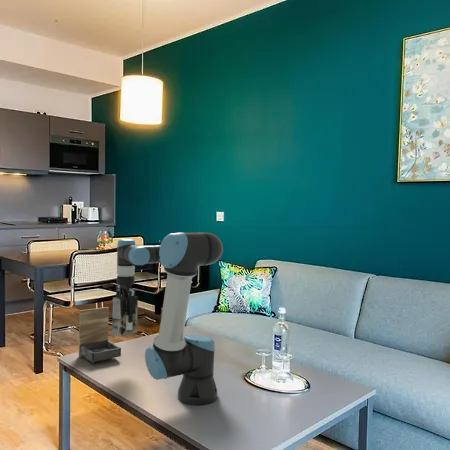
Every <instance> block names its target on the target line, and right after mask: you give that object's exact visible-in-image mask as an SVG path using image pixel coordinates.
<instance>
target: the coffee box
mask: <svg viewBox="0 0 450 450" xmlns="http://www.w3.org/2000/svg"><path fill="white" fill-rule="evenodd" d="M128 299H129V298H127V299H125V298H124V297H116V296H115V297H112V318H111V319H112V323H111V334H112V336H113V335H114V336H116V337H119V338H123V337H126V336H130V335H134V334H137V333H138V309H139V307H138V306H139V305H138V303H139V296H136V295H135V306H136V314H133V325H132V330H126V314H127V300H128Z"/></svg>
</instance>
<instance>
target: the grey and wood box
mask: <svg viewBox="0 0 450 450" xmlns="http://www.w3.org/2000/svg"><path fill="white" fill-rule="evenodd" d="M109 309H110V308H109V306H104V307H97V308H89V309H82V310H81V309H80V310H79V319H78V320H79V321H78V323H79V324H78V329H79V330H78V358H85V359H86V360H87V361H88V362H90V363H91V364H95V362H99V361H104V360H109V359H110V360H113V359H114V358H118V357H119V358H120V357H121V356H122V348H121V346H119V345H117V344H115V343H113V342H112V341H110V340H109V316H110V315H109V313H110V311H109Z"/></svg>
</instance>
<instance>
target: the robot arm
mask: <svg viewBox="0 0 450 450" xmlns="http://www.w3.org/2000/svg"><path fill="white" fill-rule="evenodd" d="M116 250H117V252H116V256H117V258H116V259H117V260H116V275H117V276H116V284H117V285H118V286H115V293H116V294H115V297H124V298H125V299H127V298H129V299H128V300H127V314H126V330H132V325H133V314H136V306H135V296H136V291H137V290H133V287H132V286H133V285H135V282H136V280H135V269H136V267H135V266H144V265H147V264H161V265H162V267H163V269H164V272H165V273H166V274H167V277H166V281H165V282H166V283H165V289H164V290H165V291H164V296H163V297H164V298H163V303H162V310H161V316H160V317H161V318H160V322H159V323H160V324H159V332H158V335H156V336H155V337H154V339H153V343H152V346H149V347H147V348H146V350H145V352H144V360H145V365H146V368H147V371H148V373H149V375H150V376H151V378H153V379H155V380H157V381H158V380H167V379H169V378H173V377H176V376H181V375H182V377H181V381H180V384H179V387H178V389H177V399H179V401H180V402H182V403H183V404H188V405H192V406H203V405H208V404H211V403H213V402H215V401H216V400H217V399H218V388H217V385H216V382H215V377H214V368H215V352H216V347H215V342H214V341H215V340H213V338H211V337H209V336H206V335H202V334H194V333H193V334H192V333H191V334H190V333H189V334H186V335H185V336H184V332H185V325H186V318H187V313H188V307H189V306H188V305H189V299H190V292H191V287H192V280H193V278H194V277H195V276H197V275H198V271H199V267H200V266H208V265H209V266H210V265H212V264H215V263H217V262H218V261H219V260H220V259H221V257H222V255H223V252H224V245H223V243H222V241H221V240H220V238H219V237H218V236H217V235H216V234H213V233H211V232H204V231H203V232H183V231H181V232H179V231H178V232H174V233H173V232H172V233H169V234H167V235H166V236H164V237H163V239H162V241H161V243H160V245H157V244H156V245H136V241H135V240H134V239H122V238H121V239H119V240H117V246H116Z"/></svg>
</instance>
